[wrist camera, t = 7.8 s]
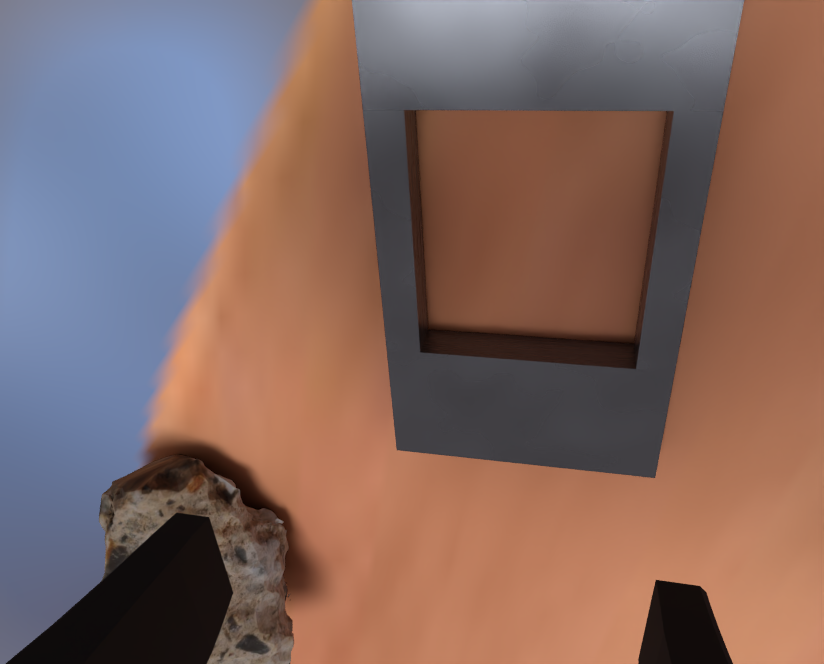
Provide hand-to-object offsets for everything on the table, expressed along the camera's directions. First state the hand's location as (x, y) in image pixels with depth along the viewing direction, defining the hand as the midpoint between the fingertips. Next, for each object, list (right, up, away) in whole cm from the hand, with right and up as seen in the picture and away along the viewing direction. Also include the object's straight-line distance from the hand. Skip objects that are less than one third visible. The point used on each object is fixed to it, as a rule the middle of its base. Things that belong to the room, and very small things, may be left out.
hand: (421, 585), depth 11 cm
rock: (-8, -4, +18) cm, 20 cm away
